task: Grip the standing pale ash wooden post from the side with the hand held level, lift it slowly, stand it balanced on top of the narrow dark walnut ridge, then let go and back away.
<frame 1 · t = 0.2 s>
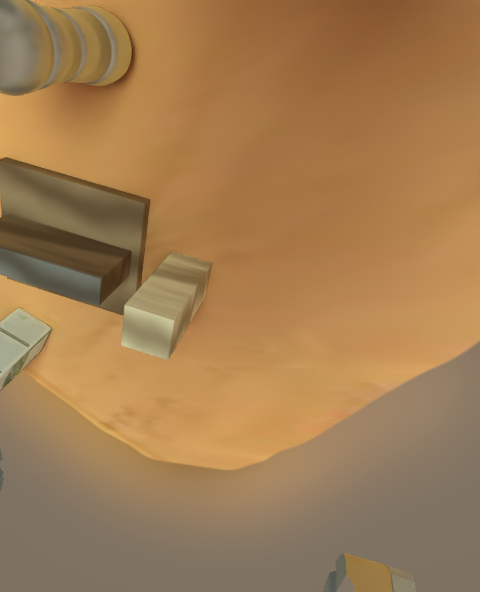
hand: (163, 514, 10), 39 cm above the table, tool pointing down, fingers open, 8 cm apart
ridge: (76, 240, 53), on the table
syrup box: (32, 328, 63), on the table
plastic bottle: (108, 47, 42), on the table
ash post: (189, 274, 52), on the table
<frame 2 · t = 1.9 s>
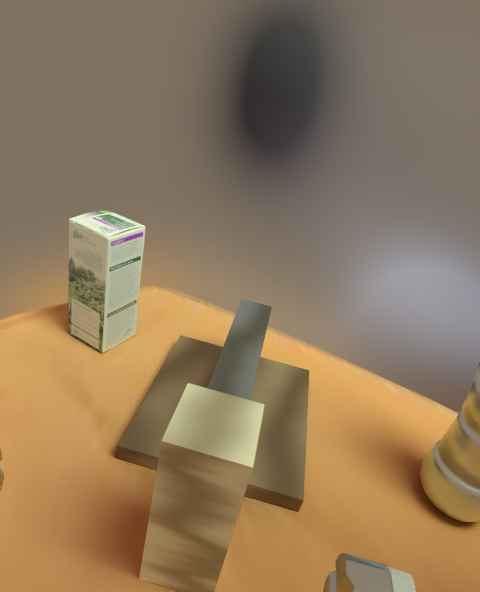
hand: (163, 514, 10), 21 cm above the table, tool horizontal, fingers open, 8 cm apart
ridge: (227, 412, 44), on the table
syrup box: (102, 336, 51), on the table
plastic bottle: (446, 499, 40), on the table
ash post: (185, 553, 30), on the table
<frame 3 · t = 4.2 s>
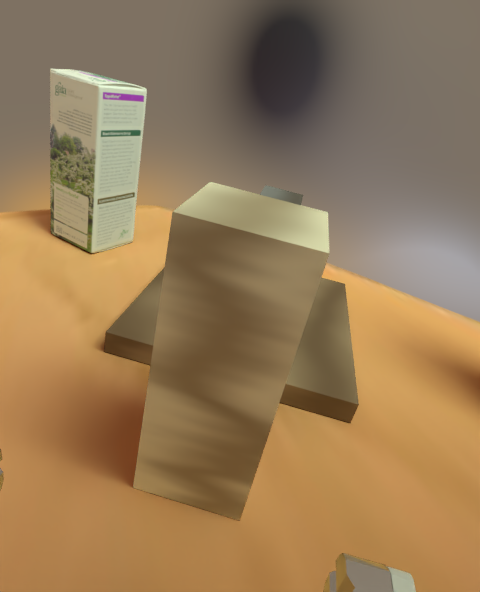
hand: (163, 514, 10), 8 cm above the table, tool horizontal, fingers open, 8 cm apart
ridge: (247, 318, 34), on the table
syrup box: (92, 240, 42), on the table
ash post: (200, 460, 21), on the table
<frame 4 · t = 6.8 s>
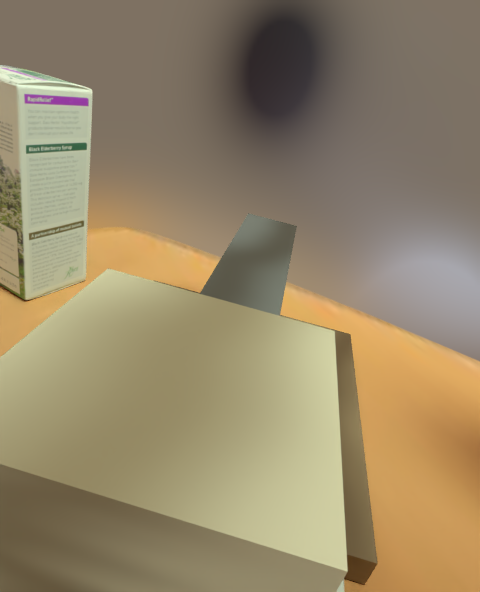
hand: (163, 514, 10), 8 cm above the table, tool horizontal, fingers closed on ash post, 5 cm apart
ridge: (223, 393, 26), on the table
syrup box: (33, 280, 33), on the table
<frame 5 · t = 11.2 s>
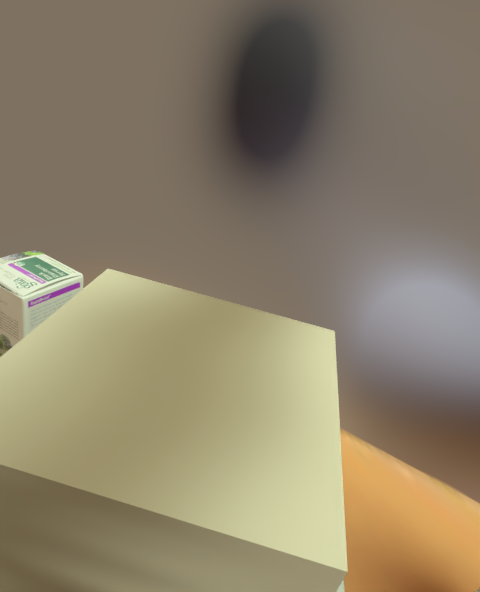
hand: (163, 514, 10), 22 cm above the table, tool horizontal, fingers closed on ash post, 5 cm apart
syrup box: (34, 408, 40), on the table
when the fingers open (18 cm above the table, at t = 15.7 s): ash post stays where it is, resting on ridge.
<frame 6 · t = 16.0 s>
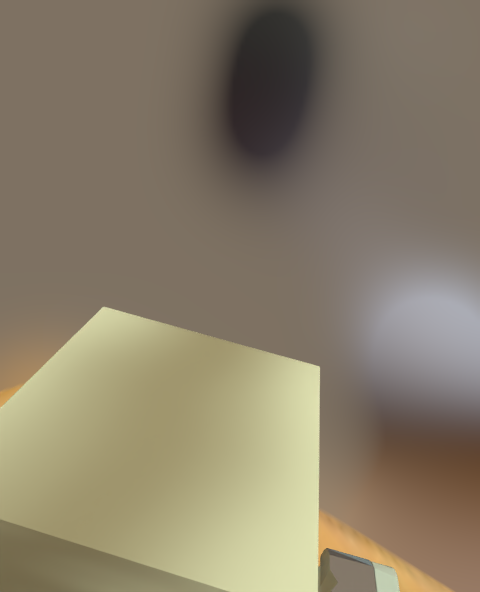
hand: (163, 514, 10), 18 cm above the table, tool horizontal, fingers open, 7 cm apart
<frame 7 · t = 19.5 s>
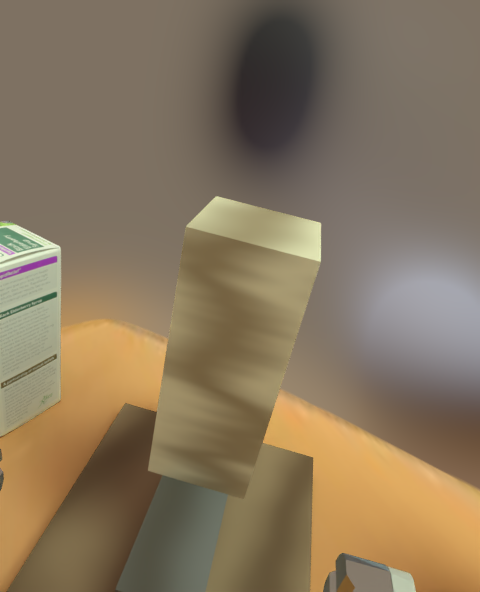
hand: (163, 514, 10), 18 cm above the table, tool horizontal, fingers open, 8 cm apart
ridge: (183, 545, 27), on the table
syrup box: (9, 404, 35), on the table
ash post: (207, 447, 23), point 9 cm above the table, touching ridge
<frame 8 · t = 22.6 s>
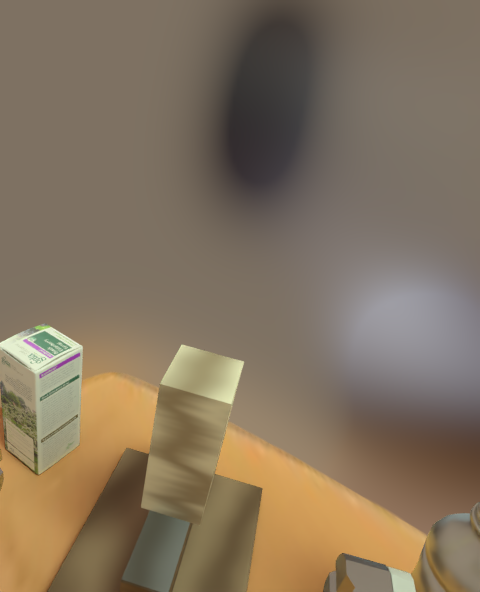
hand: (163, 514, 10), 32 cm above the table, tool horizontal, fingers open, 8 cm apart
ridge: (166, 552, 41), on the table
syrup box: (42, 448, 48), on the table
ash post: (179, 490, 36), point 9 cm above the table, touching ridge
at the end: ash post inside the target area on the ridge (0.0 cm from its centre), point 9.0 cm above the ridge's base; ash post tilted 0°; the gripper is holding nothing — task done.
